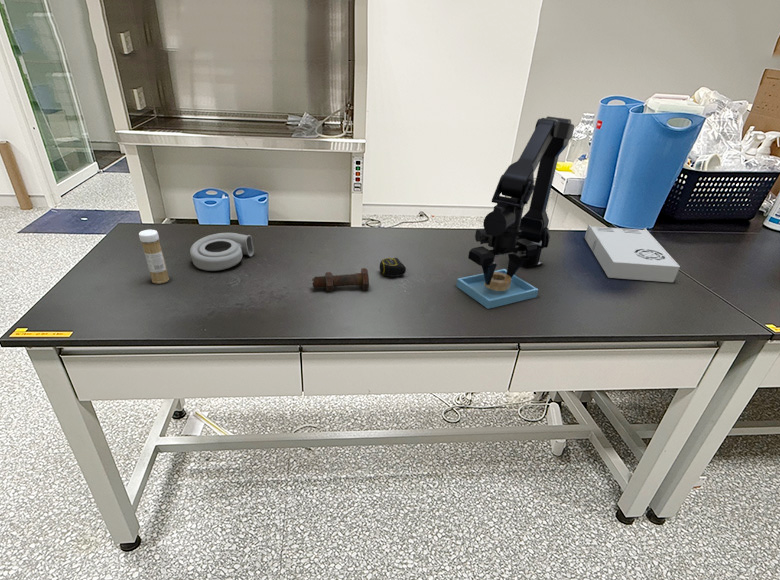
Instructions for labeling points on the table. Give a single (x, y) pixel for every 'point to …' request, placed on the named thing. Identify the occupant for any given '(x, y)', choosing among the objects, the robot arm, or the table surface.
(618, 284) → the table surface
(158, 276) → the sprinkles bottle
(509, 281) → the wooden ring
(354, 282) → the bolt
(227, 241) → the turbocharger housing
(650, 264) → the power supply unit
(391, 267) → the tape measure
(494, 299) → the tray
